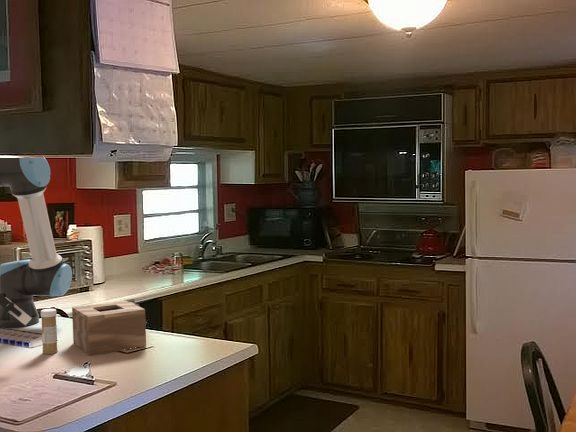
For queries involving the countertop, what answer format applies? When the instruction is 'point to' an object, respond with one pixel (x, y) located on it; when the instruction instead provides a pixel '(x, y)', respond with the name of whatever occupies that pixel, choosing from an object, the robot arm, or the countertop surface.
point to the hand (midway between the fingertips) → (23, 317)
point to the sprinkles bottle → (49, 331)
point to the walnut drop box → (108, 327)
